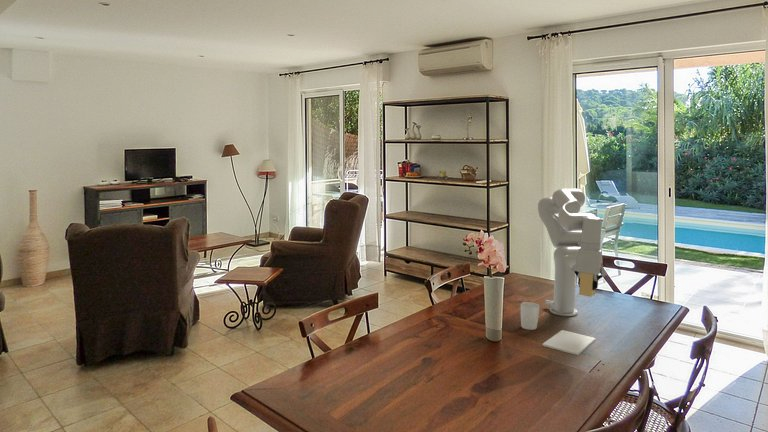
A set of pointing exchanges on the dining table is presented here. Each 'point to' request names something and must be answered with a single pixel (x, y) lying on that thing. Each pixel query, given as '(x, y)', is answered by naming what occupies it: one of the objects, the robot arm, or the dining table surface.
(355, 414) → the dining table surface
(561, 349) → the white board
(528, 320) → the white cup
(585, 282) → the ochre block
